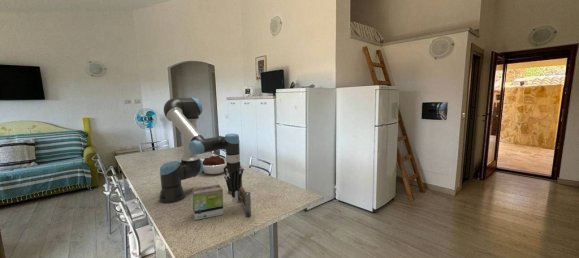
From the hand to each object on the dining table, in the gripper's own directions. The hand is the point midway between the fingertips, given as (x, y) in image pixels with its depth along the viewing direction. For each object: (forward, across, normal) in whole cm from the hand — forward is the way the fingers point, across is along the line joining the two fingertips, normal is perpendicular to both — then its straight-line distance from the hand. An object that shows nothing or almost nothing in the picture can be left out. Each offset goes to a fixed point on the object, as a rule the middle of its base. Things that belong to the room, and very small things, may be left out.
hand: (235, 201), depth 141 cm
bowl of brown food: (+5, +46, +67) cm, 81 cm away
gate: (+4, +6, -1) cm, 7 cm away
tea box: (+6, -10, +11) cm, 16 cm away
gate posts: (+5, +6, -1) cm, 8 cm away
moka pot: (+5, +21, +20) cm, 29 cm away
